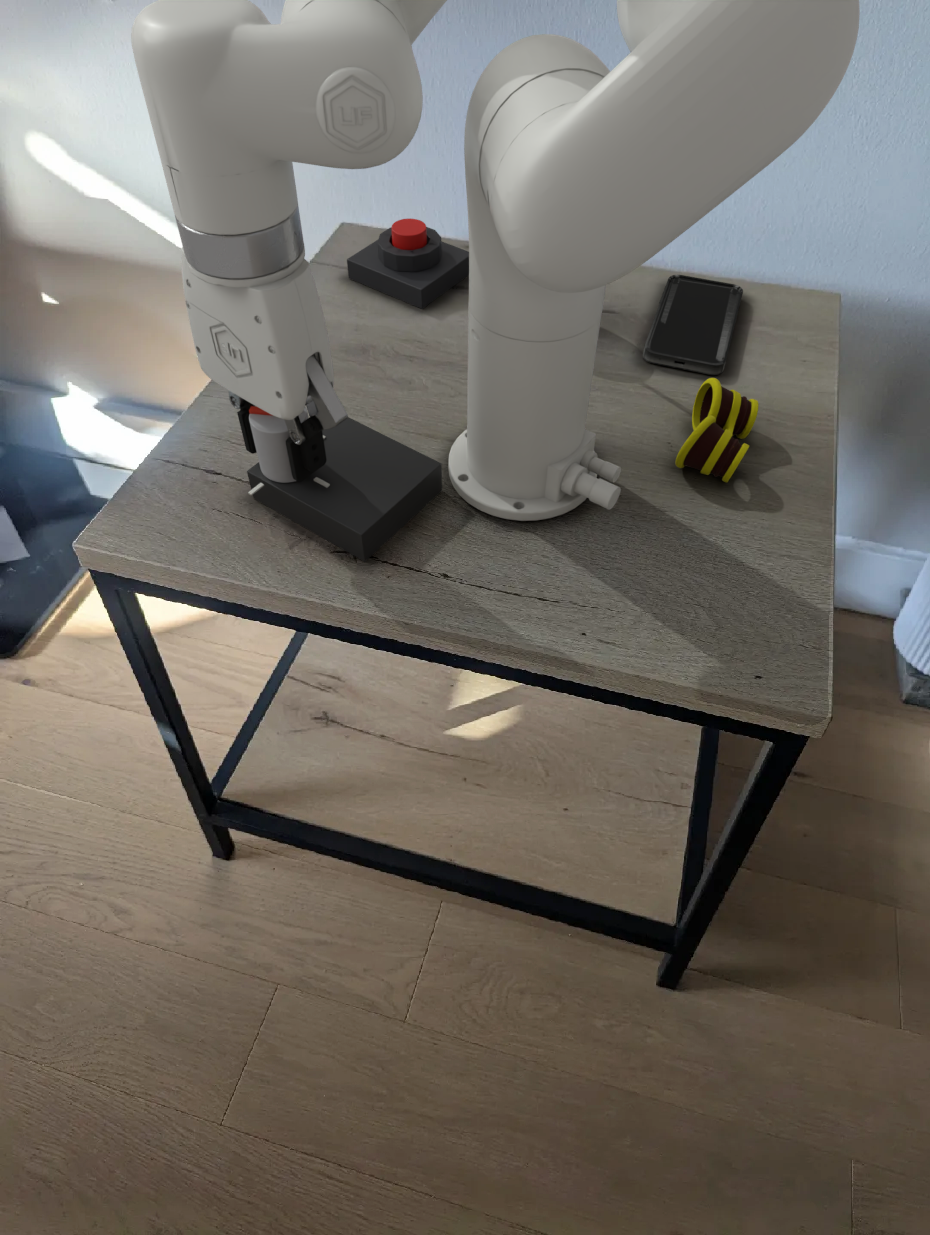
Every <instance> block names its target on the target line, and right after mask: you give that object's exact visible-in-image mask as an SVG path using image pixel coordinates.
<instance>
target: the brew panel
mask: <svg viewBox="0 0 930 1235" xmlns="http://www.w3.org/2000/svg"><path fill="white" fill-rule="evenodd" d="M322 433H323V439H324V446H325V452H326V459H327V460H326V463H325V465H323V466H322V467H321V468H319V469H318V470H317V471H315V472H314V473H312V474H311V475H310V476H308V477H307V478H306V479H304V480H303V481H301V482H298V481H295V482H289V483H281V482H275V481H272V480H270V479H268V478H267V477H266V476H264V474H263V473H262V471H261V469H260V464H259V461H258V462H256V463H255V464H254V465H253V466H251V467H250V468H249V469H247V470H246V474H247V477H248V482H249V486H250V490H249V491H248V492H247V494H248V495H250V496H252V497H253V499H254V500H255V501H258V502H259V503H261V504H262V505H265V506H266V507H268V508H269V509H271V510H273V511H275V512H276V513H278V514H280V515H282V516H284V517H285V518H287V519H289V520H291V521H292V522H294V523H296V524H297V525H300V526H301V527H302V528H304V529H306V530H308V531H310V532H311V533H314V534H315V535H317V536H319V537H320V538H322V539H324V540H326V541H327V542H329V543H331V544H333V545H334V546H336V547H338V548H340V549H341V550H343V551H345V552H347V553H349V554H351V555H352V556H353V557H355V558H357V559H359V560H361V561H363V562H364V563H365V562H367V561H368V559H370V558H371V557H372V556H373V555H374V554H375V553H376V552H377V551H379V549H380V548H382V547H383V546H384V545H385V544H386V543H387V542H388V541H389V540H391V538H392V537H394V536H395V535H396V534H397V533H398V532H399V531H400V530H401V529H402V528H403V527H404V526H406V525H407V524H408V523H409V522H410V521H411V520H412V519H413V518H414V517H415V516H416V515H418V514H419V513H420V512H421V511H422V510H423V509H424V508H425V507H426V506H427V505H428V504H430V503H431V501H433V500H434V499H435V498H436V497H437V496H438V495H439V494H440V493H442V492H443V463H442V462H440V461H438V460H436V459H434V458H432V457H430V456H428V455H426V454H423V453H422V452H420V451H418V450H415V449H414V448H411V447H409V446H408V445H406V444H403V443H401V442H400V441H397V440H395V439H394V438H391V437H389V436H387V435H385V434H383V433H382V432H379V431H377V430H375V429H373V428H371V427H369V426H367V425H365V424H363V423H361V422H359V421H357V420H355V419H354V418H351V417H349V416H348V418H347V419H346V420H345V421H343V422H342V423H340V424H339V425H338V426H336V427H335V428H331V429H327V430H322Z"/></svg>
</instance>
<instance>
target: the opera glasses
mask: <svg viewBox="0 0 930 1235" xmlns="http://www.w3.org/2000/svg"><path fill="white" fill-rule="evenodd" d="M759 405H760V404H759V401H758V400H757V399H754V398H750V399H748V398H747V396H744V395H743V396H742V394H741V393H740V392H738V391H737V390H735V389H728V388H726V387H724V386H722V384H721V382H720V380H719V379H717V378H715V377H709V378H707V379H706V380H705V381H703V383H702V384H701V385H700V387H699V388H698V391H697V392H696V396H695V399H694V403H693V407H692V414H691V426H692V430H693V431H692V432H691V434H690V435H689V436H688V437H687V439H686V440H685V441H684V443H683V444H682V446H681V447H680V449H679V451H678V452H677V455H676V457H675V461H674V463H675V466H676V467H677V468H678V469H683V468H685V467H688V468H692V469H695V470H698V471H700V472H699V473H700V474H702V475H706V476H709V475H710V474H712V475H713V476H714V478H717V477H720V478H721V481H722V482H724V483H728V482H729V480H730V479H731V478H732V476H733V474H734V473H735V472H736V469H737V468H738V466H739V465H740V463H741V461H742V460H743V458H744V456H745V455H746V453H747V451H748V450H749V448H750V445H749V444H747V443H745V442H744V443H742V444H741V443H740V441H739V439H741V440H744V439H746V438H747V437H748V436H749V434H750V433H751V431H752V429H753V428H754V426H755V423H756V420H757V416H758V412H759V407H760V406H759ZM734 436H736V438H735V437H734Z"/></svg>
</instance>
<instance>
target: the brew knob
mask: <svg viewBox="0 0 930 1235" xmlns="http://www.w3.org/2000/svg"><path fill="white" fill-rule="evenodd" d="M249 413H250V414H249V421H250V426H251V430H252V434H253V439H254V443H255V447H256V451H257V453H256V455H257V460H258V462H259V464H260V469H261V471H262V473H263V474H264V476H266V477H267V478H268V479H270V480H272V481H275V482H281V483H289V482H295V481H296V480H294V479H293V477H292V473H291V468H290V463H289V458H288V453H287V448H286V440H287V439H288V438H289V437H290V435H289V432H288V429H287V426H286V424H285V421H284V419H281V418H278V417H276V416H273V415H271V414H269V413H268V412H266V411H264V410H262V409H260V408H258V407H257V406H251V407H250V409H249ZM298 416H299V419H300V422H301V423H302V422H304V421H305V420H306V419H308V418H309V413H308V410H307V407H306V406H305V408H304V411H303V413H301V414H300V415H298Z"/></svg>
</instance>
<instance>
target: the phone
mask: <svg viewBox="0 0 930 1235" xmlns="http://www.w3.org/2000/svg"><path fill="white" fill-rule="evenodd" d="M743 294H744V289H743V288H742V287H741V286H740V285H737V284H734V283H728V282H724V281H717V280H712V279H708V278H707V279H706V278H700V277H695V276H690V275H685V274H673V275H670V276H669V277H668V279H667V281H666V284H665V286H664V288H663V291H662V294H661V297H660V299H659V302H658V307H657V310H656V312H655V315H654V317H653V321H652V324H651V326H650V329H649V332H648V335H647V338H646V340H645V344H644V348H643V352H642V358H643V360H645V362H647V363H649V364H653V365H658V366H663V367H667V368H668V367H669V368H673V369H678V370H682V371H688V372H694V373H699V374H703V375H708V376H718V375H721V374H722V373H723V372H724V370H725V366H726V364H727V359H728V354H729V350H730V347H731V346H730V345H731V342H732V338H733V334H734V331H735V326H736V322H737V319H738V314H739V311H740V307H741V303H742V298H743Z"/></svg>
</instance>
